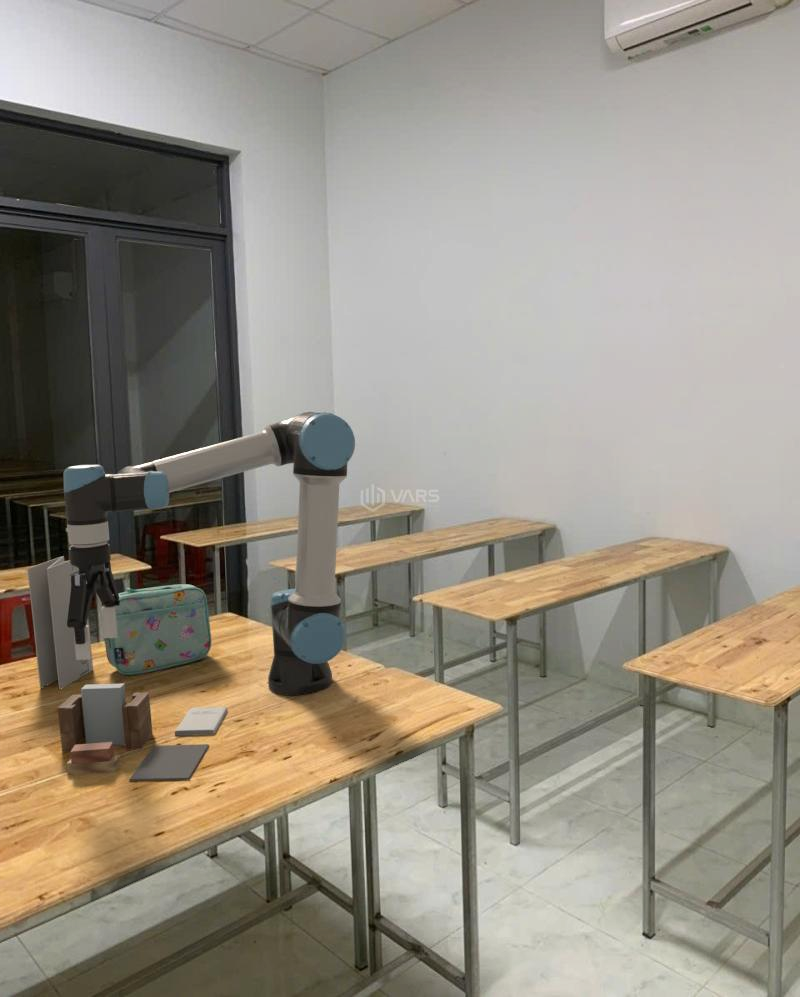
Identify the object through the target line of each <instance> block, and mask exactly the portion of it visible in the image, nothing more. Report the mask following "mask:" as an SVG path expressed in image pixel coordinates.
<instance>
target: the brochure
mask: <svg viewBox="0 0 800 997" xmlns="http://www.w3.org/2000/svg"><path fill="white" fill-rule="evenodd" d="M78 574H79V568H78V567H77V566H73V565H71V563H70V559H69V560H67V561H65V556H64V555H63V556H59V557H56V558H53V559H51V560H47V561H44V562H42V563H39V564H35V565H34V566H30V567H28V568H27V576H28V577H27V578H28V586H29V587H28V588H29V597H30V606H31V607H30V608H31V615H32V623H33V626H32V627H33V633H34V643H35V654H36V664H37V674H38V683H39V689H40V688H42V687H44V686H46V685H47V684H49V683H51V682H53V681H54V682H56V681H57V680H56V679H58V690H59V689H61V688H63V687H64V688H66V687H67V685H68V684H69V685H71V684H73V683H74V682H75V680H76V681H77V680H79V679H80V677H81V676H82V677H84V676H85V675H84V674H86V673H87V674H89V673H90V672H92V671H94V665H93V664H94V663H93V655H92V653H93V652H92V651H91V657H92V658H91V659H90V660H76V652H75V641H74V629H73V628H68V626H67V619H68V610H69V602H70V593H71V576H72V575H78ZM86 626H89V627H90V622H89V618H88V619H87V624H86ZM89 633H90V634H91V631H90V630H89ZM90 645H91V646H92V643H91V640H90ZM91 670H92V671H91ZM89 671H90V672H89ZM88 672H89V673H88ZM87 674H86V675H87ZM83 675H84V676H83ZM82 677H81V678H82ZM78 678H79V679H78ZM55 680H56V681H55ZM73 681H74V682H73ZM54 682H53V683H54ZM72 682H73V683H72ZM70 683H71V684H70ZM51 684H52V683H51ZM49 685H50V684H49ZM69 685H68V686H69ZM47 686H48V685H47ZM47 686H46V687H47ZM65 686H66V687H65ZM44 688H45V687H44ZM64 688H63V689H64ZM42 689H43V688H42ZM61 690H62V689H61Z"/></svg>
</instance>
